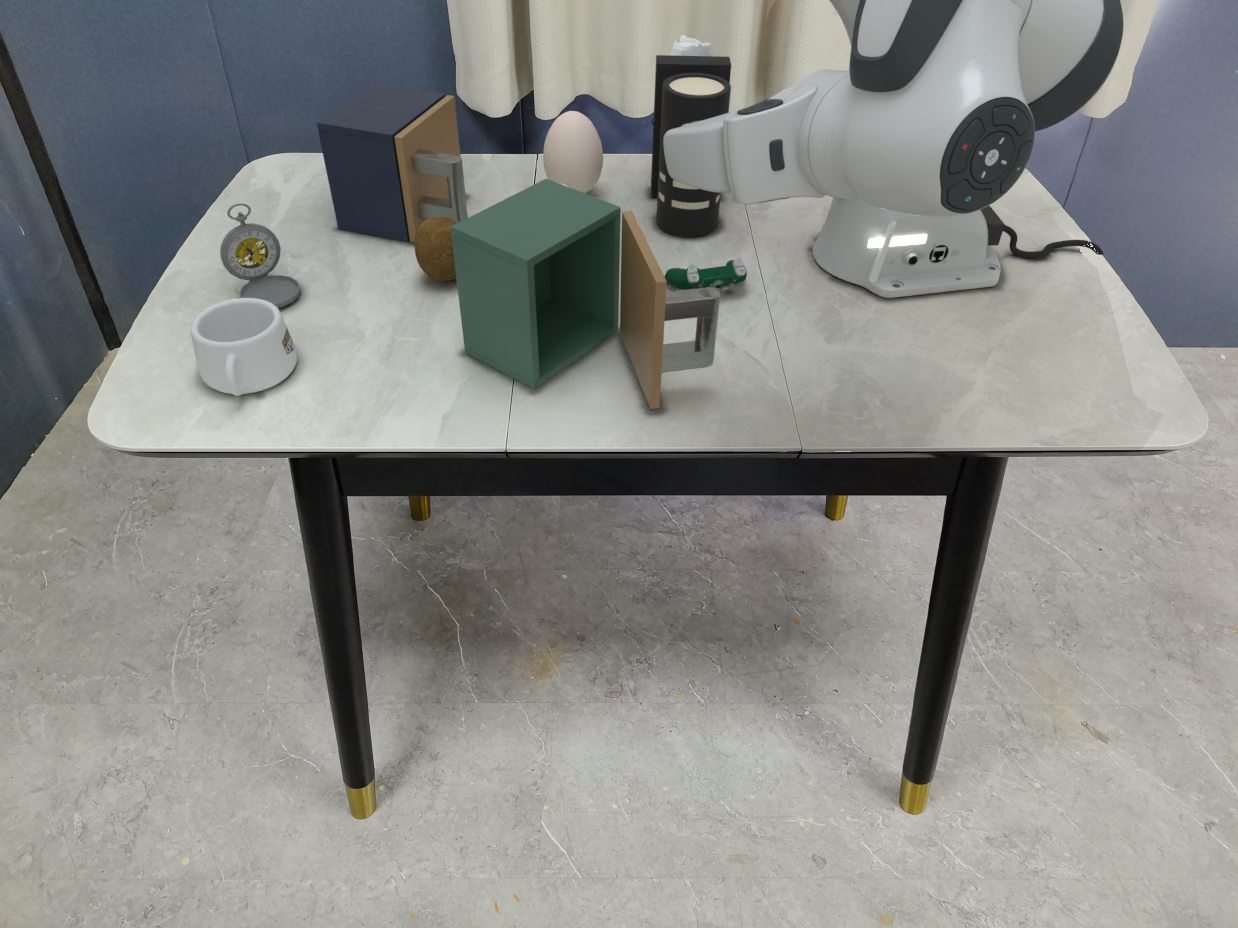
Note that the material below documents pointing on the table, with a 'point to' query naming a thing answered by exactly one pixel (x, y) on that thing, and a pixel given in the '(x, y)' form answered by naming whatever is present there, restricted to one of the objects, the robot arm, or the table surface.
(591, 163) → the egg
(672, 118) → the light fixture
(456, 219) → the machine door
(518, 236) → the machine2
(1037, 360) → the table surface
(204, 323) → the mug
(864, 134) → the robot arm
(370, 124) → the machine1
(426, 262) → the fruit
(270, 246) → the pocket watch
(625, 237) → the machine door
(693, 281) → the gaming controller
